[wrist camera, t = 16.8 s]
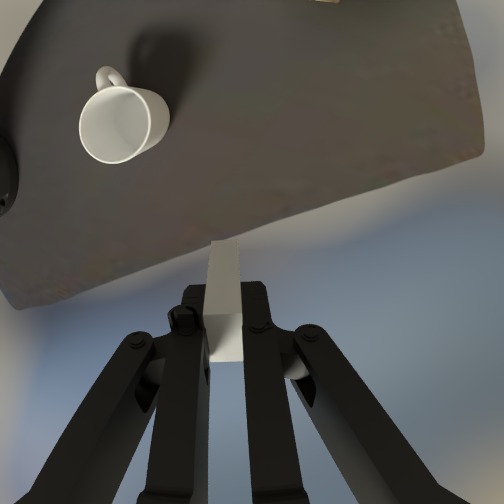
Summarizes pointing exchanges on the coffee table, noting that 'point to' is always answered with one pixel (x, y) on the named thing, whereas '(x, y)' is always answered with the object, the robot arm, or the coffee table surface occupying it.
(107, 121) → the mug
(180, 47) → the coffee table surface
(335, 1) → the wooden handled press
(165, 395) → the robot arm
